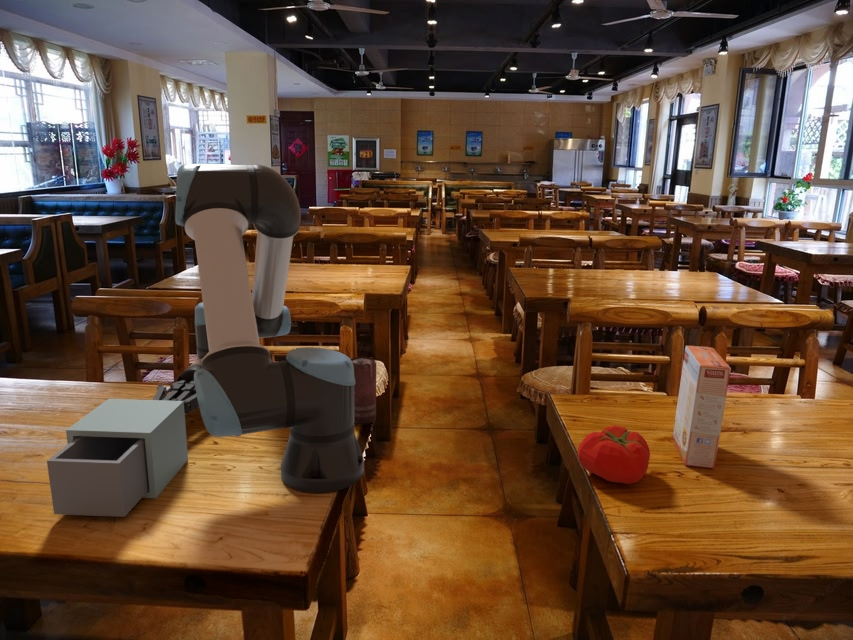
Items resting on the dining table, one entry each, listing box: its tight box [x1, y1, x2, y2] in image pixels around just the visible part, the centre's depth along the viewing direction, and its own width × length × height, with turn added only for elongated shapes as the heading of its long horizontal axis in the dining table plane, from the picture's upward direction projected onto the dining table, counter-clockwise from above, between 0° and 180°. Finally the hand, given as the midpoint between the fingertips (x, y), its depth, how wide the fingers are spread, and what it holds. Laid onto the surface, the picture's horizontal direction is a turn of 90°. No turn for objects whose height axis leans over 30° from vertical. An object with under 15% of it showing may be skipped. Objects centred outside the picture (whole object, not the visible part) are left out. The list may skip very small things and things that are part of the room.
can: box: [350, 356, 377, 426], centre depth 139 cm, size 6×6×14 cm
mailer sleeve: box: [65, 398, 189, 499], centre depth 113 cm, size 14×14×12 cm
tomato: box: [577, 425, 651, 485], centre depth 117 cm, size 14×13×9 cm
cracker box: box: [672, 345, 732, 469], centre depth 127 cm, size 14×6×21 cm, turn 168°
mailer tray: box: [46, 436, 149, 518], centre depth 110 cm, size 24×11×9 cm, turn 179°
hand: (154, 421), depth 122 cm, fingers closed
